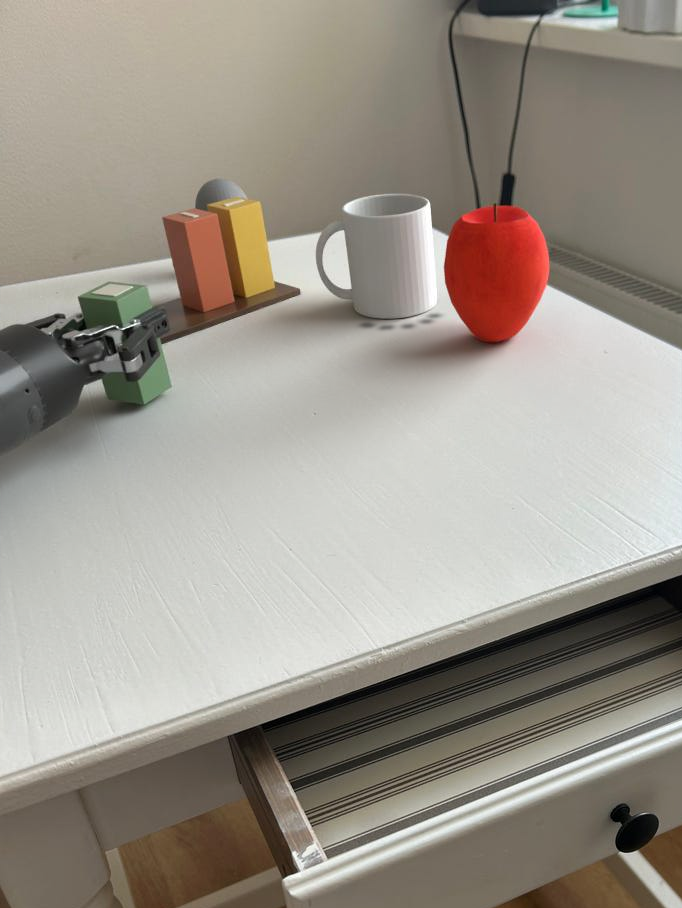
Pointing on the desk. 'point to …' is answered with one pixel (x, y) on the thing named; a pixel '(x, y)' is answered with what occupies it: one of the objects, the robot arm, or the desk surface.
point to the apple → (496, 270)
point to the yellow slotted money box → (244, 245)
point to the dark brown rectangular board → (219, 311)
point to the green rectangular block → (125, 338)
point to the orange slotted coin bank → (198, 259)
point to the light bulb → (217, 193)
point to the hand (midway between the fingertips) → (141, 315)
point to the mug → (386, 255)
